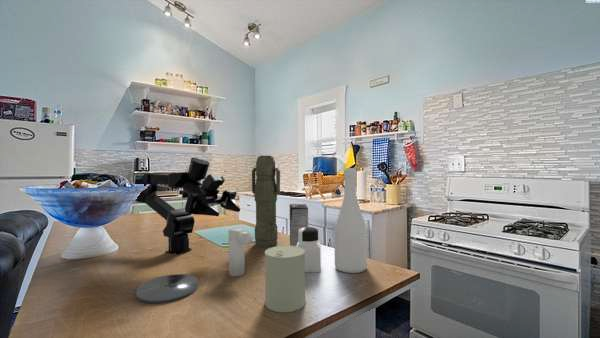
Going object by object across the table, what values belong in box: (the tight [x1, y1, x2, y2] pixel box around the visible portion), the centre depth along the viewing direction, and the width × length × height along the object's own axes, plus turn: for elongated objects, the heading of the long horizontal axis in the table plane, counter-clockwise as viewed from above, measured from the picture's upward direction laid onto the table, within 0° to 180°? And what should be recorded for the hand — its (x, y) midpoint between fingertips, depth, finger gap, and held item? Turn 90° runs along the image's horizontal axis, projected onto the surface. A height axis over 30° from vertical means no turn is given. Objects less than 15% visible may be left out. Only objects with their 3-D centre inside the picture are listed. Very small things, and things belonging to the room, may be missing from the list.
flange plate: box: [135, 273, 199, 304], centre depth 70 cm, size 14×14×1 cm
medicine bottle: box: [296, 226, 322, 273], centre depth 84 cm, size 7×7×12 cm
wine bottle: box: [333, 167, 368, 274], centre depth 84 cm, size 10×10×30 cm
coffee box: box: [289, 203, 309, 246], centre depth 105 cm, size 9×6×16 cm
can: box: [264, 245, 307, 313], centre depth 63 cm, size 9×9×12 cm
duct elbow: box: [228, 227, 254, 277], centre depth 79 cm, size 7×4×12 cm, turn 50°
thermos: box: [251, 155, 281, 249], centre depth 110 cm, size 9×12×35 cm
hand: (229, 212), depth 89 cm, fingers open, 9 cm apart
